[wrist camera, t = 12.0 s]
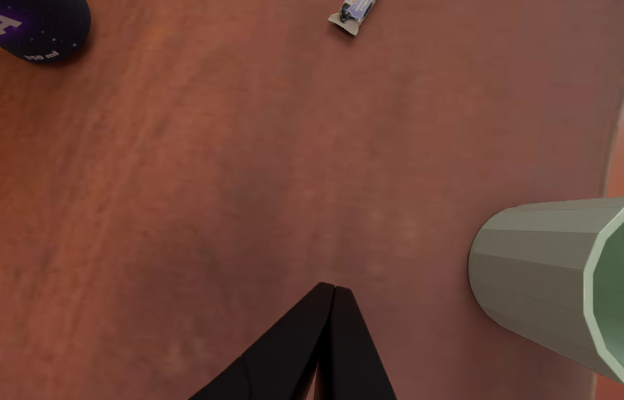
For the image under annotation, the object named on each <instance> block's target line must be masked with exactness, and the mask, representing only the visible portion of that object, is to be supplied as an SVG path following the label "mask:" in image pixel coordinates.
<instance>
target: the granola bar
mask: <svg viewBox="0 0 624 400" xmlns="http://www.w3.org/2000/svg"><path fill="white" fill-rule="evenodd" d="M376 1H377V0H345V1H344V3H343V4H342V6H341V8H340V9H339V11H338V13H336V14H332V15H331V16H330V17H329V19H328V20H329V21H332V22H334V23H336V24H338V25H340V26H341V27H343V28H344V29H346V30H347V31H348V32H350V33H351V34H353V35H356V34H357V33H358V28H359V27H360V25H361V24H362V22H363V21H364V19H365V17H366V16H367V14H368V13H369V11H370V10H371V8H372V7H373V5H374V4H375V2H376Z"/></svg>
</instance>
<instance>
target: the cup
mask: <svg viewBox="0 0 624 400" xmlns="http://www.w3.org/2000/svg"><path fill="white" fill-rule="evenodd" d="M468 274H469V281H470V285H471V288H472V291H473V294H474V296H475V298H476V300H477V302H478V304H479V305H480V307H481V308H482V309H483V311H484V312H485V313H486V314H487V315H488V316H489V317H490V318H491V319H492V320H493V321H495V322H496V323H497V324H498V325H500V326H502V327H504V328H506V329H508V330H510V331H512V332H514V333H516V334H518V335H520V336H522V337H524V338H526V339H528V340H530V341H532V342H534V343H537V344H539V345H541V346H543V347H545V348H547V349H549V350H551V351H553V352H555V353H557V354H559V355H561V356H564V357H566V358H568V359H570V360H572V361H574V362H576V363H578V364H580V365H582V366H584V367H586V368H588V369H590V370H593V371H595V372H597V373H599V374H601V375H603V376H605V377H607V378H609V379H611V380H613V381H615V382H617V383H620V384H622V385H624V196H622V197H609V198H596V199H583V200H570V201H557V202H544V203H531V204H522V205H519V206H514V207H511V208H507V209H505V210H503V211H500V212H499V213H497V214H496V215H494V216H493V217H491V218H490V219H489V220H488V221H487V222H486V223H485V224H484V225H483V226H482V227H481V229H480V230H479V232H478V233H477V235H476V237H475V239H474V241H473V244H472V247H471V250H470V254H469V261H468Z"/></svg>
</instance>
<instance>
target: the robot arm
mask: <svg viewBox="0 0 624 400" xmlns="http://www.w3.org/2000/svg"><path fill="white" fill-rule="evenodd" d="M319 356H320V357H319ZM318 360H319V361H318ZM317 364H318V366H317ZM316 368H317V372H316ZM315 372H316V380H315V390H314V400H397V398H396V395H395V393H394V391H393V388H392V386H391V383H390V381H389V379H388V376H387V374H386V372H385V369H384V367H383V364H382V362H381V360H380V357H379V355H378V352H377V350H376V348H375V345H374V343H373V340H372V338H371V336H370V333H369V331H368V329H367V326H366V324H365V321H364V319H363V317H362V314H361V312H360V309H359V307H358V305H357V302H356V300H355V297H354V295H353V293H352V291H351V290H350V289H348V288H344V287H340V286H336V288H335V286H334V285H333V284H329V283H325V282H319V283H318V284H317V285H316V286H315V287H314V288H313V289H312V290H311V291H310V292H308V293H307V294H306V295H305V296H304V297H303V298H302V299H301V300H300V301H299V302H298V303H297V304H296V305H294V306H293V307H292V308H291V309H290V310H289V311H288V312H287V313H286V314H285V315H284V316H283V317H281V318H280V319H279V320H278V321H277V322H276V323H275V324H274V325H273V326H272V327H271V328H270V329H268V330H267V331H266V332H265V333H264V334H263V335H262V336H261V337H260V338H259V339H258V340H257V341H256V342H254V343H253V344H252V345H251V346H250V347H249V348H248V349H247V350H246V351H245V352H244V353H243V354H242V355H241V356H239V357H238V358H237V359H236V360H235V361H234V362H233V363H232V364H230V365H229V366H228V367H227V368H226V369H225V370H224V371H223V372H221V373H220V374H219V375H218V376H217V377H216V378H214V379H213V380H212V381H211V382H210V383H209V384H207V385H206V386H205V387H203V388H202V389H201V390H199V391H198V392H197V393H196V394H194V395H193V396H192V397H190V398H189V399H188V400H306V398H307V395H308V392H309V389H310V387H311V384H312V381H313V378H314V375H315Z"/></svg>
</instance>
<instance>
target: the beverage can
mask: <svg viewBox="0 0 624 400" xmlns="http://www.w3.org/2000/svg"><path fill="white" fill-rule="evenodd" d="M90 23H91V16H90V10H89V7H88V4H87V2H86V0H0V47H2V48H3V49H5V50H7V51H8V52H10V53H12V54H13V55H15V56H17V57H18V58H20V59H23V60H25V61H28V62H32V63H42V64H43V63H53V62H57V61H60V60H63V59H65V58H67V57H69V56H70V55H72V54H73V53H74V52H76V51H77V50H78V49H79V48H80V47H81V45H82V44H83V43H84V41H85V40H86V38H87V35H88V33H89V29H90Z"/></svg>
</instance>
